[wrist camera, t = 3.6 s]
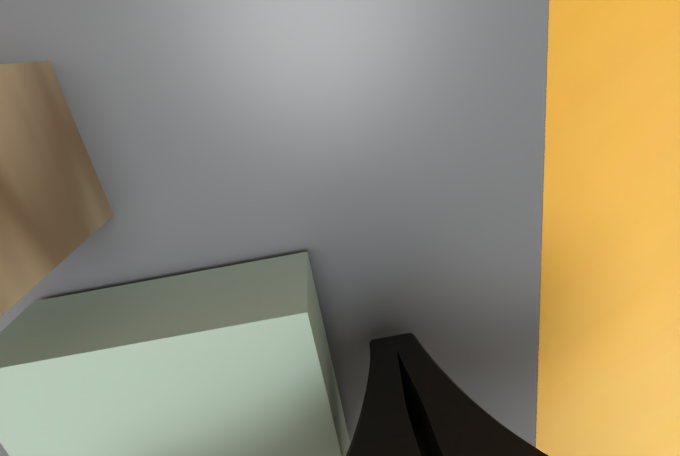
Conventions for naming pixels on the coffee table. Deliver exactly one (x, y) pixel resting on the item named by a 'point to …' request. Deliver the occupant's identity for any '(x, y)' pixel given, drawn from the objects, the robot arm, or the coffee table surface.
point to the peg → (41, 180)
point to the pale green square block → (175, 368)
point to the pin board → (320, 164)
